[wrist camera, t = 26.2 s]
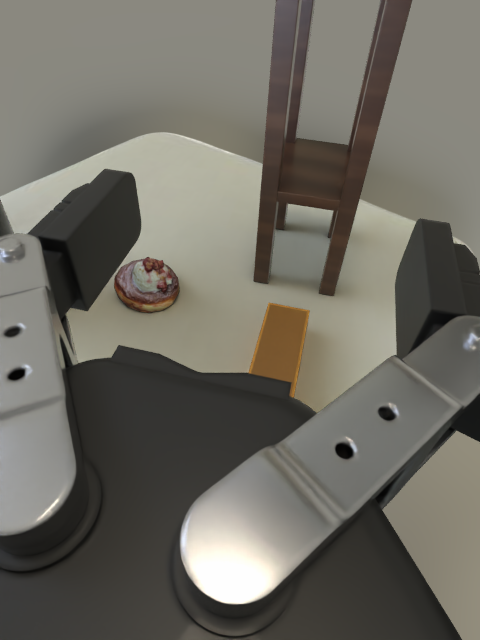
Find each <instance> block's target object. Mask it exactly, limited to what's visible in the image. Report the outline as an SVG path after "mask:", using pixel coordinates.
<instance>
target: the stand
mask: <svg viewBox="0 0 480 640" xmlns="http://www.w3.org/2000/svg"><path fill="white" fill-rule="evenodd" d="M411 3H412V0H380V4H379V9H378V13H377V18H376V22H375V27H374V31H373V36H372V40H371V45H370V49H369V54H368V58H367V62H366V67H365V72H364V76H363V81H362V85H361V90H360V94H359V98H358V104H357V107H356V112H355V116H354V122H353V125H352V130H351V135H350V139H349V143H348V145H344V144H337V143H329V142H322V141H315V140H307V139H300V138H297V133H298V125H299V117H300V110H301V103H302V95H303V88H304V80H305V73H306V66H307V57H308V51H309V43H310V36H311V28H312V20H313V13H314V5H315V0H276V7H275V19H274V31H273V33H274V34H273V44H272V57H271V70H270V82H269V94H268V107H267V120H266V132H265V144H264V157H263V169H262V182H261V194H260V207H259V219H258V232H257V244H256V257H255V269H254V282H260V283H265V284H268V281H269V277H270V272H271V263H272V255H273V246H274V237H275V229H280V230H284V227H285V223H286V215H287V208H288V203H289V204H295V205H302V206H308V207H314V208H321V209H327V210H333V215H332V220H331V224H330V229H329V234H328V238H331V240H330V245H329V249H328V253H327V258H326V262H325V266H324V271H323V275H322V279H321V284H320V290H319V293H320V294H325V295H331V296H334V293H335V289H336V285H337V281H338V278H339V274H340V270H341V266H342V263H343V259H344V255H345V251H346V248H347V244H348V240H349V236H350V232H351V229H352V225H353V221H354V217H355V214H356V210H357V206H358V202H359V199H360V195H361V191H362V187H363V183H364V179H365V176H366V172H367V168H368V165H369V161H370V157H371V154H372V150H373V146H374V142H375V139H376V135H377V131H378V127H379V123H380V120H381V116H382V112H383V109H384V105H385V101H386V97H387V93H388V90H389V86H390V82H391V78H392V74H393V71H394V67H395V63H396V60H397V56H398V52H399V48H400V45H401V41H402V37H403V33H404V30H405V26H406V22H407V18H408V15H409V11H410V7H411Z"/></svg>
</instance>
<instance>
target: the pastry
mask: <svg viewBox="0 0 480 640" xmlns="http://www.w3.org/2000/svg"><path fill="white" fill-rule="evenodd" d="M114 288H115V290H116V292H117V295H118V297H119V299H120V300H121V301H122V302H123V303H124V304H125V305H126V306H127V307H130V308H132V309H135V310H137V311H140V312H147V313H149V312H155V311H161V310H163V309H165V308H167V307H168V306H170V305H172V303H173V302H174V300H175V298H176V297H177V295H178V293H179V282H178V277H177V276H176V274H175V273H174V272H173V270H172V269H171V268H170V267H169V266H168V265H166V264H164V263H163V260H161V261H159V260H156V259H150V258H149V257H147V258H146V259H141V260H136V261H132V262H130V263H128V264H126V265H124V266H123V267H121V268H120V270H119V271H118V273H117V275H116V277H115V282H114Z"/></svg>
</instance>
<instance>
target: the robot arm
mask: <svg viewBox="0 0 480 640" xmlns="http://www.w3.org/2000/svg"><path fill="white" fill-rule="evenodd" d="M140 231H141V216H140V209H139V203H138V196H137V189H136V183H135V178H134V176H133V174H132V173H129V172H123V171H116V170H110V169H104V170H103V171H102V172H101V173H100V174H99V175H98V176H97V177H96V178H95V179H94V180H93V181H92V182H91V183H90V184H89V183H87V184H85V185H83V186H81V187H79V188H77V189H74V190H72V191H71V192H70V193H69V194H68V195H67V196H66V197H65V198H64V199H63V200H62V203H59V204H58V205H57V206H56V207H55V208H54V211H52V210H51V211H50V212H49V213H48V214H47V215H46V216H45V217H44V218H43V219H42V220H41V221H40V222H39V223H38V224H37V225H36V226H35V227H34V228H33V229H32V230H31V231H30V232H29V233H28V234H19V233H18V234H14V232H13V230H12V227H11V225H10V222H9V220H8V217H7V215H6V212H5V210H4V208H3V205H2V203H1V200H0V640H462V639H461V637H460V635H459V634H458V632H457V630H456V629H455V627H454V625H453V624H452V622H451V620H450V619H449V617H448V616H447V614H446V613H445V611H444V609H443V608H442V606H441V604H440V603H439V601H438V599H437V598H436V596H435V595H434V593H433V591H432V590H431V588H430V587H429V585H428V584H427V582H426V580H425V578H424V577H423V575H422V574H421V572H420V570H419V569H418V567H417V566H416V564H415V562H414V561H413V559H412V558H411V556H410V554H409V553H408V552H407V550H406V548H405V546H404V545H403V543H402V542H401V540H400V538H399V537H398V535H397V533H396V532H395V530H394V528H393V527H392V525H391V524H390V522H389V521H388V519H387V517H386V516H385V514H384V512H383V511H382V509H383V508H384V507H385V506H386V505H387V504H388V503H389V502H390V501H391V500H392V499H393V498H394V497H395V495H396V494H397V493H398V492H399V491H400V490H401V489H402V488H403V486H404V485H405V484H406V483H407V482H408V481H409V480H410V478H411V477H412V476H413V475H414V474H415V473H416V472H417V471H418V470H419V469H420V468H421V467H422V466H423V465H424V464H425V463H426V462H427V461H428V460H429V458H430V457H431V456H432V455H433V454H434V453H435V452H436V451H437V450H438V449H439V448H440V447H441V446H442V445H443V444H444V443H445V442H446V441H447V440H448V439H449V438H450V437H451V436H452V435H453V434H454V433H455V432H456V431H459V432H461V433H463V434H465V435H467V436H469V437H471V438H473V439H475V440H477V441H479V442H480V275H479V273H480V270H479V266H478V262H477V258H476V257H475V256H474V255H473V254H472V253H471V251H470V250H469V249H468V248H467V247H466V246H465V245H461V244H455V243H453V238H452V232H451V228H450V224H449V223H446V222H439V221H433V220H426V219H419V220H418V221H417V222H416V224H415V227H414V229H413V232H412V234H411V237H410V239H409V242H408V245H407V247H406V250H405V252H404V255H403V257H402V260H401V263H400V265H399V268H398V272H397V276H396V282H395V304H396V342H397V355H394V356H391V357H390V358H388V359H387V360H385V361H384V362H383V363H382V364H380V365H379V366H378V367H376V368H375V369H374V370H373V371H371V372H370V373H369V374H367V375H366V376H365V377H364V378H362V379H361V380H360V381H358V382H357V383H356V384H355V385H353V386H352V387H351V388H349V389H348V390H347V391H346V392H344V393H343V394H342V395H340V396H339V397H338V398H337V399H335V400H334V401H333V402H331V403H330V404H329V405H328V406H326V407H325V408H324V409H322V410H321V411H320V412H319V413H316V412H315V411H313V410H312V409H311V408H310V407H308V406H307V405H305V404H304V403H302V402H301V401H299V400H297V399H295V398H293V397H291V396H289V394H290V389H291V384H292V382H288V381H283V380H278V379H274V378H269V377H264V376H260V375H255V374H250V373H201V372H197V371H194V370H192V369H190V368H188V367H186V366H184V365H182V364H179V363H177V362H175V361H173V360H171V359H169V358H167V357H165V356H163V355H161V354H157V353H153V352H148V351H143V350H139V349H134V348H129V347H125V346H120V345H118V347H117V349H116V351H115V352H114V354H113V356H112V357H111V358H101V359H94V360H89V361H85V362H81V363H78V360H77V356H76V351H75V347H74V343H73V338H72V334H71V329H70V325H69V321H68V318H67V315H66V313H67V312H68V310H69V309H70V308H74V309H79V310H84V311H88V310H89V308H90V307H91V305H92V304H93V303H94V301H95V300H96V298H97V297H98V295H99V294H100V293H101V291H102V290H103V288H104V287H105V285H106V284H107V283H108V281H109V280H110V278H111V277H112V275H113V274H114V273H115V271H116V270H117V268H118V267H119V266H120V264H121V263H122V261H123V260H124V258H125V257H126V256H127V254H128V253H129V251H130V250H131V248H132V247H133V246H134V244H135V243H136V241H137V240H138V238H139V235H140Z"/></svg>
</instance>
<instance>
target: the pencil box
mask: <svg viewBox="0 0 480 640" xmlns="http://www.w3.org/2000/svg"><path fill="white" fill-rule="evenodd" d="M309 312H310V311H309V310H304V309H299V308H294V307H289V306H284V305H278V304H273V303H268V307H267V310H266V314H265V317H264V321H263V324H262V328H261V331H260V335H259V338H258V342H257V345H256V349H255V352H254V355H253V359H252V362H251V366H250V369H249V373H250V374H255V375H260V376H264V377H269V378H274V379H278V380H283V381H288V382H292V384H291V389H290V394H289V396H291V397H293V398H294V393H295V388H296V382H297V377H298V372H299V366H300V361H301V355H302V350H303V344H304V339H305V334H306V328H307V323H308V317H309Z"/></svg>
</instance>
